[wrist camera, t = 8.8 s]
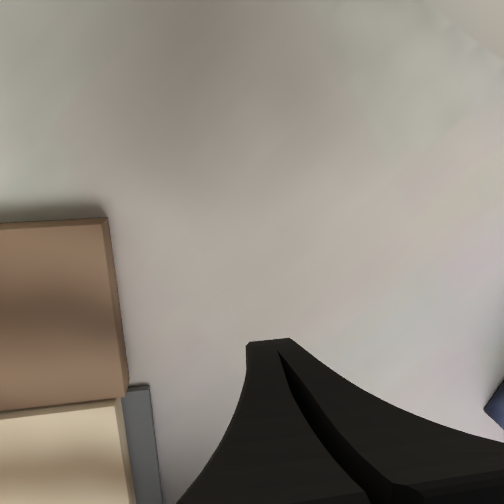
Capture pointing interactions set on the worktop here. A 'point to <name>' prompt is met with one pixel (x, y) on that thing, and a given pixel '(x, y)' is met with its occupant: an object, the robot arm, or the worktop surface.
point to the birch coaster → (65, 455)
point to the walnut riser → (59, 315)
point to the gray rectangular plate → (142, 445)
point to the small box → (497, 407)
